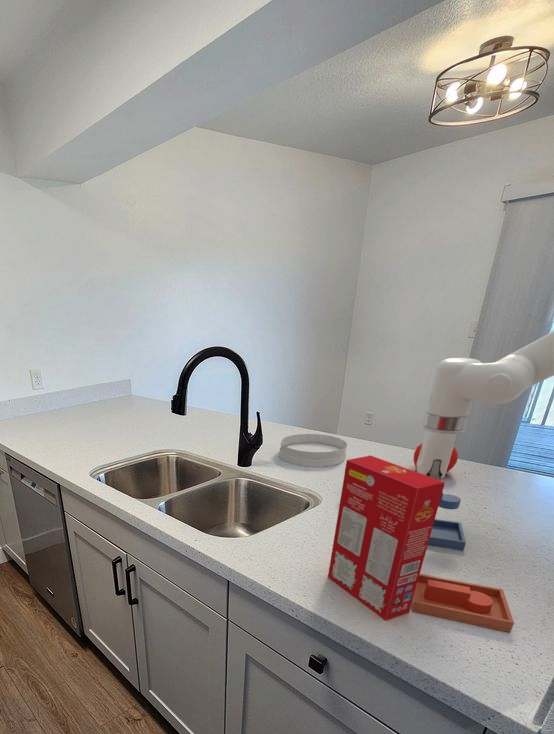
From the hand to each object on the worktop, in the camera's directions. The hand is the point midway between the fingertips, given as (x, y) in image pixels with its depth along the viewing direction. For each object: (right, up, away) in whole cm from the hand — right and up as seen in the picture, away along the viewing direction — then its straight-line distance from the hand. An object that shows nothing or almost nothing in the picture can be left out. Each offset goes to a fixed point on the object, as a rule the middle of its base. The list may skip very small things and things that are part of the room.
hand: (423, 501), depth 99 cm
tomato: (+25, +11, +36) cm, 45 cm away
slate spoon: (+2, 0, -1) cm, 2 cm away
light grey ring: (-5, +19, +55) cm, 59 cm away
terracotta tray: (-7, -20, -20) cm, 29 cm away
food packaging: (-21, -19, -16) cm, 32 cm away
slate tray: (+2, -8, +3) cm, 8 cm away
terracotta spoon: (-7, -19, -20) cm, 29 cm away
